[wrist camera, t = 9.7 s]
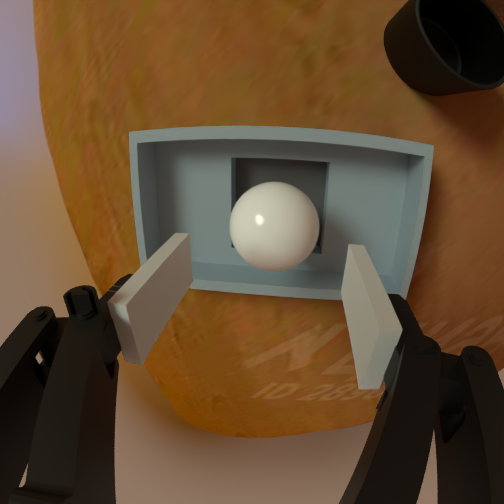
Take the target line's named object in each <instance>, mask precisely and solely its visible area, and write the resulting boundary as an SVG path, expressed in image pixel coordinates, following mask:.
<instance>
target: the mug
mask: <svg viewBox="0 0 504 504" xmlns="http://www.w3.org/2000/svg"><path fill="white" fill-rule="evenodd" d="M384 47H385V51H386V54H387V57H388V59H389V61H390V63H391V65H392V67H393V68H394V70H395V71H396V72H397V74H398V75H399V76H400V77H401V78H402V79H403V80H404V81H405V82H406V83H407V84H409V85H410V86H411V87H413V88H415V89H416V90H418V91H420V92H423V93H425V94H429V95H433V96H443V95H450V94H456V93H463V92H471V91H479V90H487V89H493V88H496V87H498V86H500V85H502V84H503V83H504V26H503V24H502V22H501V21H500V19H499V18H498V16H497V15H496V13H495V12H494V11H493V10H492V8H491V7H490V6H489V5H488V4H487V3H486V2H485V1H484V0H409V1H408V2H407V3H406V4H405V5H404V6H403V7H402V8H401V9H400V10H399V11H398V12H397V13H396V14H395V16H394V17H393V18H392V19H391V20H390V21H389V22H388V24H387V26H386V28H385V32H384Z"/></svg>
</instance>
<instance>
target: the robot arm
mask: <svg viewBox="0 0 504 504" xmlns="http://www.w3.org/2000/svg"><path fill="white" fill-rule="evenodd" d="M192 282H193V275H192V263H191V250H190V236H189V233H175V234H174V235H173V236H172V237H171V238H170V239H169V240H168V241H166V242H165V243H164V244H163V245H162V246H161V247H160V248H159V249H158V250H157V251H156V252H155V253H154V254H153V255H152V256H151V257H150V258H149V259H148V260H147V261H146V262H145V263H144V264H143V265H142V266H141V267H140V268H139V269H138V270H137V271H136V272H135V274H128V275H126V276H124V277H122V278H120V279H119V280H118V281H117V282H116V283H115V284H114V286H112V287H111V288H110V289H109V291H107V292H106V293H105V294H104V295H103V296H102V297H101V298H100V300H99V299H98V296H97V291H96V289H95V288H94V287H92V286H87V285H86V286H85V285H84V286H78V287H75V288H72V289H70V290H69V291H68V292H66V293H65V294H64V296H63V298H64V300H65V304H66V307H67V310H68V313H69V317H63V318H62V317H61V318H56V316H55V313H54V311H53V309H52V308H50V307H47V306H44V307H43V306H42V307H37V308H35V309H34V310H32V311H30V312H29V313H28V314H27V315H26V316H25V318H24V319H23V320H22V321H21V322H20V323H19V325H18V326H17V327H16V328H15V330H14V331H13V332H12V333H11V334H10V335H9V337H8V338H7V339H6V340H5V342H4V343H3V344H2V346H1V347H0V504H116V497H115V469H114V439H115V412H116V411H115V410H116V395H117V381H118V370H119V363H118V360H117V356H118V354H119V353H120V351H122V354H123V357H124V360H125V361H127V362H131V363H135V364H140V365H143V363H144V361H145V359H146V358H147V356H148V354H149V353H150V351H151V349H152V348H153V346H154V344H155V343H156V341H157V339H158V337H159V336H160V334H161V332H162V331H163V329H164V328H165V326H166V324H167V323H168V321H169V319H170V318H171V316H172V314H173V313H174V311H175V309H176V308H177V306H178V305H179V303H180V301H181V300H182V298H183V296H184V295H185V293H186V292H187V290H188V288H189V287H190V285H191V284H192ZM341 296H342V301H343V305H344V310H345V315H346V320H347V325H348V330H349V335H350V340H351V346H352V351H353V357H354V362H355V368H356V374H357V381H358V387H359V389H379V388H380V385H381V383H382V381H383V378H384V381H385V386H386V389H385V391H384V393H383V395H382V397H381V399H380V401H379V403H378V405H377V407H376V409H378V410H377V413H376V416H375V419H374V422H373V425H372V428H371V431H370V433H369V436H368V439H367V441H366V444H365V446H364V449H363V451H362V454H361V456H360V459H359V461H358V464H357V466H356V468H355V470H354V473H353V475H352V477H351V480H350V482H349V484H348V486H347V488H346V490H345V492H344V494H343V496H342V498H341V500H340V502H339V504H416V503H417V500H418V496H419V493H420V489H421V485H422V482H423V478H424V474H425V470H426V466H427V461H428V457H429V452H430V447H431V442H432V436H433V430H434V432H435V443H436V457H437V481H438V504H504V389H503V386H502V383H501V380H500V378H499V375H498V372H497V370H496V367H495V365H494V362H493V360H492V358H491V356H490V355H489V353H488V352H486V351H485V350H484V349H482V348H480V347H477V346H467V347H465V348H464V349H463V350H462V352H461V354H460V356H457V355H452V354H447V353H443V352H441V348H440V346H439V345H438V343H437V342H436V341H434V340H433V339H432V338H430V337H427V336H424V335H423V333H422V331H421V329H420V327H419V325H418V322H417V320H416V318H415V316H414V314H413V312H412V310H410V307H409V305H408V303H407V301H406V300H405V299H404V298H403V297H401V296H400V295H399V294H387V292H386V290H385V288H384V286H383V284H382V282H381V280H380V277H379V275H378V273H377V271H376V269H375V267H374V265H373V263H372V261H371V259H370V257H369V255H368V253H367V251H366V249H365V247H364V245H356V244H349V245H348V252H347V258H346V265H345V271H344V277H343V283H342V288H341ZM38 352H39V353H40V355H41V357H42V359H43V360H42V362H41V363H40V364H39V363H38V362H37V360H36V358H35V357H36V355H37V354H38ZM27 464H28V469H27V476H26V482H25V485H24V486H23V487H19V485H20V482H21V480H22V477H23V474H24V472H25V469H26V467H27Z"/></svg>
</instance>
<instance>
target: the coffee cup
mask: <svg viewBox="0 0 504 504" xmlns="http://www.w3.org/2000/svg"><path fill="white" fill-rule="evenodd" d="M484 1H485V2H486V3H487V4H488V5H489V6H490V7H491V8H492V10H493V11H494V12H495V13H496V15H497V16H498V17H501V16H504V0H484Z"/></svg>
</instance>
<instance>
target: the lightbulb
mask: <svg viewBox="0 0 504 504" xmlns="http://www.w3.org/2000/svg"><path fill="white" fill-rule="evenodd" d="M319 228H320V226H319V217H318V213H317V210H316V208H315V206H314V204H313V203H312V201H311V200H310V198H309V197H308V196H307V195H306V194H305V193H304V192H303V191H301V190H300V189H298V188H297V187H295V186H293V185H290V184H287V183H284V182H265V183H261V184H258V185H256V186H254V187H252V188H250V189H249V190H247V191H246V192H245V193H244V194H243V195H242V196H241V197H240V198H239V199H238V201H237V202H236V204H235V206H234V208H233V210H232V213H231V216H230V223H229V229H230V236H231V240H232V243H233V245H234V247H235V249H236V251H237V252H238V254H239V255H240V256H241V257H242V258H243V259H244V260H245V261H246V262H247V263H249V264H250V265H252V266H254V267H256V268H258V269H261V270H264V271H270V272H279V271H285V270H288V269H291V268H293V267H296V266H297V265H299V264H300V263H302V262H303V261H304V260H305V259H306V258H307V257H308V256H309V255H310V254H311V252H312V251H313V249H314V248H315V245H316V243H317V240H318V236H319Z"/></svg>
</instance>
